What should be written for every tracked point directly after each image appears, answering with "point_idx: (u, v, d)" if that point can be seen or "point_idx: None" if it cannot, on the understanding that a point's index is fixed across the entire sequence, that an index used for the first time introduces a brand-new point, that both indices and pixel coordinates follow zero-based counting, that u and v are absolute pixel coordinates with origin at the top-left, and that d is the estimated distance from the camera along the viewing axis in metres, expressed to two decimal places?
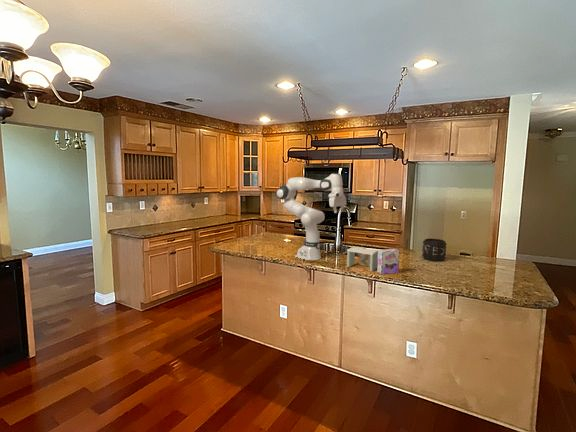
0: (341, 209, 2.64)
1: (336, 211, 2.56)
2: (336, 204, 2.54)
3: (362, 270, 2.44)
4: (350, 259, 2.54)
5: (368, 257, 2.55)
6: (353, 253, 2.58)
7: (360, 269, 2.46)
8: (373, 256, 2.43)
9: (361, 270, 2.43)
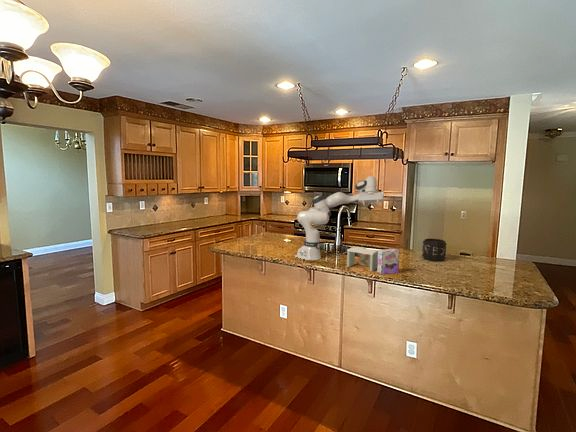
0: (376, 203, 2.77)
1: (364, 204, 2.79)
2: (363, 198, 2.82)
3: (362, 270, 2.44)
4: (350, 259, 2.54)
5: (368, 257, 2.55)
6: (353, 253, 2.58)
7: (360, 269, 2.46)
8: (373, 256, 2.43)
9: (361, 270, 2.43)
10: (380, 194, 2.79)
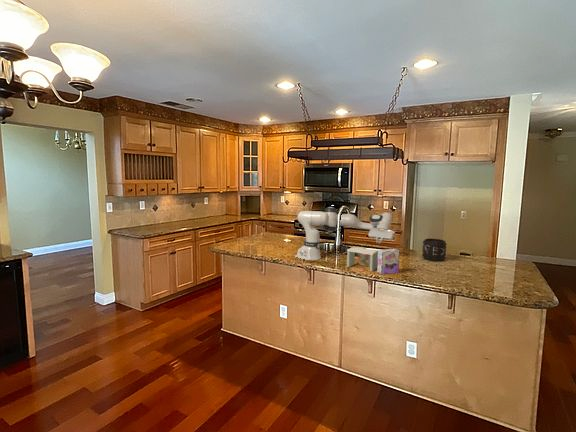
0: (379, 241, 2.76)
1: (376, 241, 2.76)
2: (372, 234, 2.80)
3: (362, 270, 2.44)
4: (350, 259, 2.54)
5: (368, 257, 2.55)
6: (353, 253, 2.58)
7: (360, 269, 2.46)
8: (373, 256, 2.43)
9: (361, 270, 2.43)
10: (390, 233, 2.74)
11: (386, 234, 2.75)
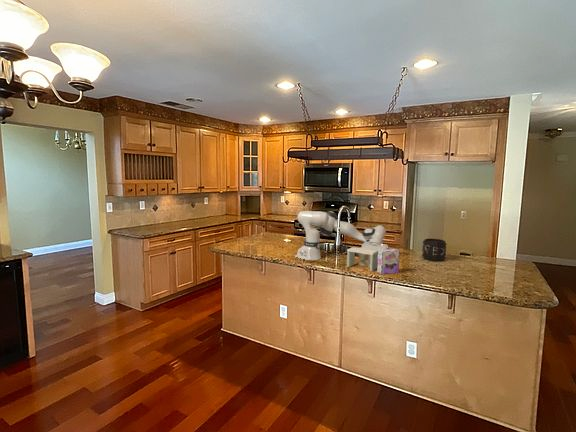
0: None
1: None
2: (365, 248, 2.69)
3: (362, 270, 2.44)
4: (350, 259, 2.54)
5: (368, 257, 2.54)
6: (353, 253, 2.58)
7: (360, 269, 2.46)
8: (373, 256, 2.43)
9: (361, 270, 2.43)
10: (383, 247, 2.63)
11: (379, 249, 2.64)
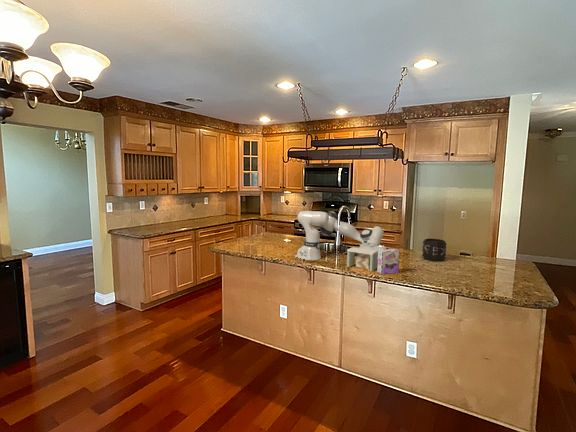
0: None
1: None
2: None
3: (362, 270, 2.44)
4: (350, 259, 2.54)
5: (365, 259, 2.50)
6: (353, 253, 2.58)
7: (360, 269, 2.46)
8: (373, 256, 2.43)
9: (361, 270, 2.43)
10: (381, 249, 2.59)
11: (377, 250, 2.60)
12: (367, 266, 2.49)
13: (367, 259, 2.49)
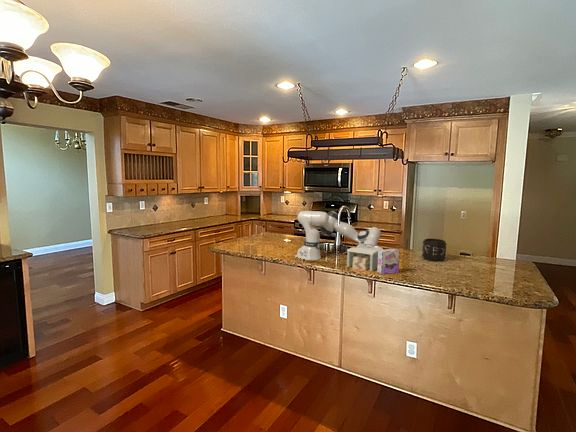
0: None
1: None
2: None
3: (362, 270, 2.44)
4: (350, 259, 2.54)
5: (362, 260, 2.46)
6: (353, 253, 2.58)
7: (360, 269, 2.46)
8: (373, 256, 2.43)
9: (361, 270, 2.43)
10: (378, 249, 2.55)
11: None
12: (364, 268, 2.46)
13: (364, 261, 2.45)
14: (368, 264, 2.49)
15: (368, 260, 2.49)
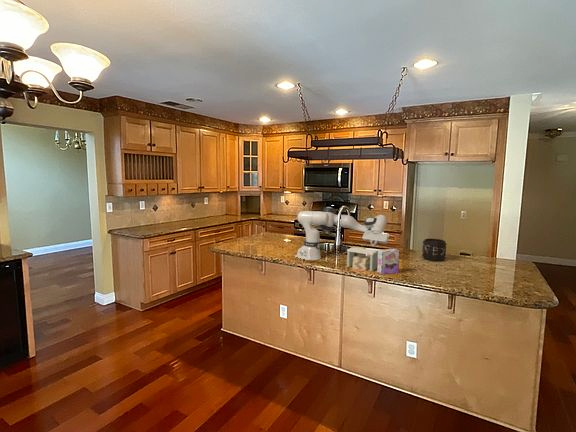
0: (373, 244, 2.67)
1: (371, 244, 2.67)
2: (367, 237, 2.72)
3: (362, 270, 2.44)
4: (350, 259, 2.54)
5: (362, 260, 2.46)
6: (353, 253, 2.58)
7: (360, 269, 2.46)
8: (373, 256, 2.43)
9: (361, 270, 2.43)
10: (385, 236, 2.65)
11: (381, 237, 2.66)
12: (364, 268, 2.45)
13: (364, 261, 2.45)
14: (368, 264, 2.49)
15: (368, 260, 2.49)
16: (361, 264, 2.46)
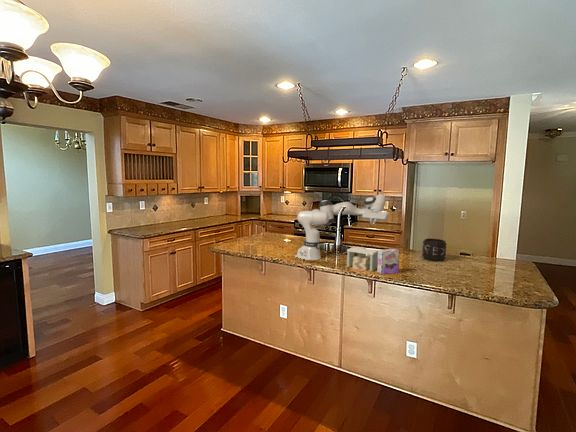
0: None
1: None
2: (366, 215, 2.77)
3: (362, 270, 2.44)
4: (350, 259, 2.54)
5: (362, 260, 2.46)
6: (353, 253, 2.58)
7: (360, 269, 2.46)
8: (373, 256, 2.43)
9: (361, 270, 2.43)
10: (384, 213, 2.71)
11: (380, 215, 2.72)
12: (364, 268, 2.45)
13: (364, 261, 2.45)
14: (368, 264, 2.49)
15: (368, 260, 2.49)
16: (361, 264, 2.46)
